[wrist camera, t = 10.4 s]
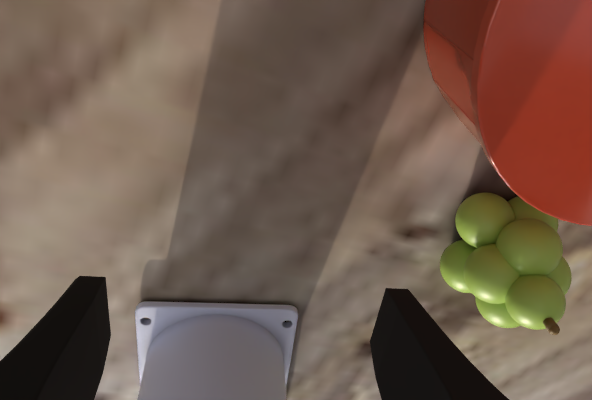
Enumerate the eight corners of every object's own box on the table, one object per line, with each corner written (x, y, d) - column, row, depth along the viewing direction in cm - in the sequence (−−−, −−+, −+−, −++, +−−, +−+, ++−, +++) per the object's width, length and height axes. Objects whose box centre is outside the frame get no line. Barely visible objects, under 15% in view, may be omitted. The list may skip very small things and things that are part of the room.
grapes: (510, 272, 26) (582, 380, 21) (426, 269, 25) (477, 379, 20) (549, 184, 23) (645, 281, 18) (457, 178, 23) (525, 277, 17)
